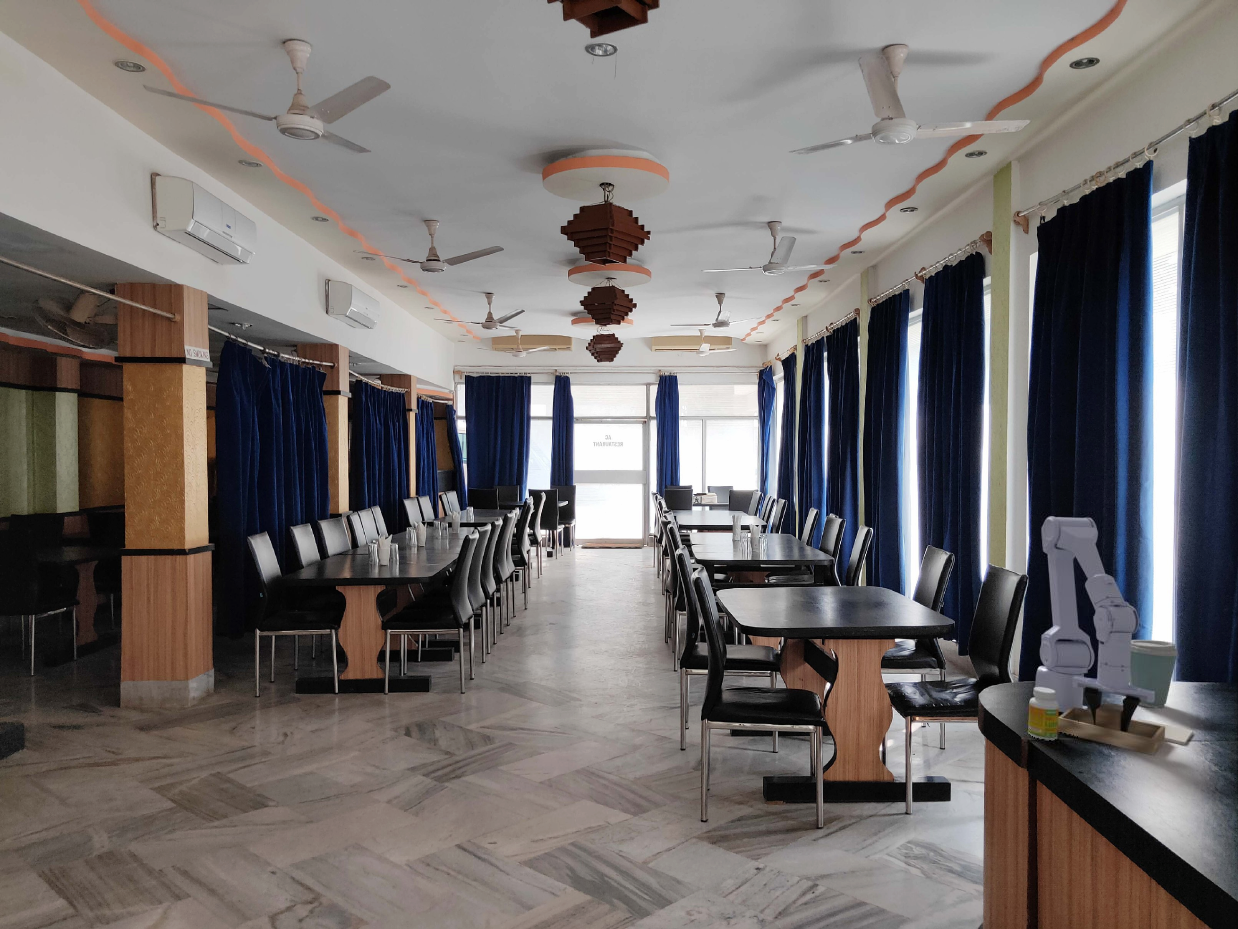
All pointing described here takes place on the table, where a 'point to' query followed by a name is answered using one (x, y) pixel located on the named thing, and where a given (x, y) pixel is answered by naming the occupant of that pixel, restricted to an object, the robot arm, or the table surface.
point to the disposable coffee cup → (1152, 668)
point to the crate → (1112, 731)
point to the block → (1110, 716)
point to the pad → (1174, 733)
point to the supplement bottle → (1043, 714)
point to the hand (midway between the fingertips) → (1110, 728)
